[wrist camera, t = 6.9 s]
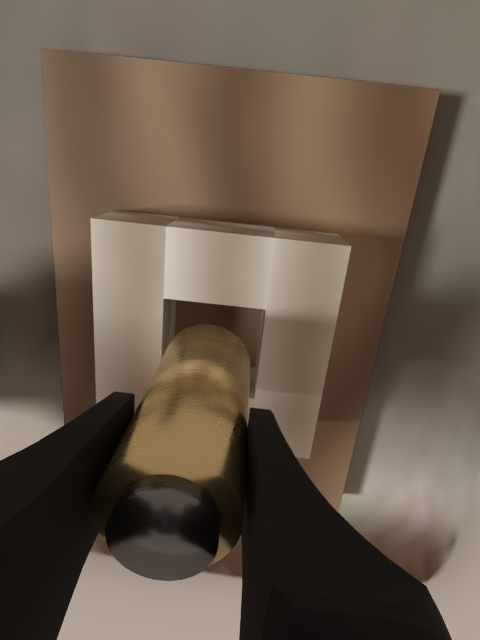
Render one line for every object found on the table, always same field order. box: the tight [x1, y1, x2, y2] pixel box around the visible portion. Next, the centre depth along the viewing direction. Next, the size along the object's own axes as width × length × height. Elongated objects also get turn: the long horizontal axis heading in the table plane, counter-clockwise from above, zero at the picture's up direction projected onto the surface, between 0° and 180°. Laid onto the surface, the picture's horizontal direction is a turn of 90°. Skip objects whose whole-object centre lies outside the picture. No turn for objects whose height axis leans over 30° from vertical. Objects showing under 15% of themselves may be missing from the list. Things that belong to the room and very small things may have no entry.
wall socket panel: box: [40, 48, 441, 512], centre depth 19 cm, size 16×22×4 cm
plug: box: [92, 324, 250, 581], centre depth 12 cm, size 3×3×8 cm
